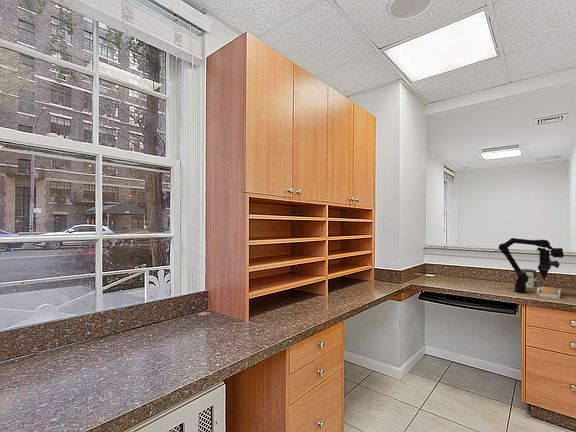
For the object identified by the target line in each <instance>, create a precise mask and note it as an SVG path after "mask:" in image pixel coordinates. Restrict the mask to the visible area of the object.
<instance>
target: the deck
mask: <svg viewBox="0 0 576 432" xmlns="http://www.w3.org/2000/svg"><path fill="white" fill-rule="evenodd" d="M542 287H543V286H538V287H537V289H536V296H537V297H544V298H551V299H552V298H553V299H559V300H561V296H562V295H561V294H562V289H561V288H556V287H554V288H555V290H556V295H552V294H543V293H541V289H542Z"/></svg>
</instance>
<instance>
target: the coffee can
mask: <svg viewBox="0 0 576 432" xmlns="http://www.w3.org/2000/svg"><path fill="white" fill-rule="evenodd" d="M520 269H521V270H522V272H524V271H525V272H526V275H528V279H529V280H528V282H527V283H525V284H526V289H528V288H529V289H536V288H537V289H538V287H537V269H527V268H520Z"/></svg>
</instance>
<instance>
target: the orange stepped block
mask: <svg viewBox="0 0 576 432" xmlns="http://www.w3.org/2000/svg"><path fill="white" fill-rule="evenodd" d="M541 287H542V289H541V293H543V294H552V295H556V290H555V288H556V287H548V286H547V287H546V286H541Z"/></svg>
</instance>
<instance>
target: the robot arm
mask: <svg viewBox="0 0 576 432" xmlns="http://www.w3.org/2000/svg"><path fill="white" fill-rule="evenodd" d="M550 243H551V242H550V241H549V240H546V239H524V238H516V237H511V238H510V239H509V240H507V241H506V242H504V243H503V242H502V243H500V244H499V245H498V249H499V251H500V252H501V253H502V254H503V255H504V256H505V257H506V259H507V260H508V262H509V264H510V265H511V267H512V268H513V270H514V271H515V273H516V276H517V279H515V284H514V290H513V292H514V293H519V294H528V292H527V288H526V284H525V283H527V282H528V280H529V279H528V275H526V272H525V271H524V272H522V270H521V269H522V268H520V266H519V265H518V263H517V262H516V260H515V259H514V257H513V255H512V254H511V252H510V249H509V247H511V246H512V245H514V244H522V245H531V246H537V248H536V249H535V250H536V251H539V259H538V260H539V264H538V265H537V270H538V272H539V273H540V276H541V277H542V279H543V280H545V279H546V278H547V277H548V273H549V271H550V270H551V268H552V267H554V268H557V269H559V267H560V265H561V264H560V263H559V261H558V260H551V257H552V258H561V259H562V258H564V255H565V253H564V250H563V248H561V247H559V248H558V247H553V246H551V244H550Z"/></svg>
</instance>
